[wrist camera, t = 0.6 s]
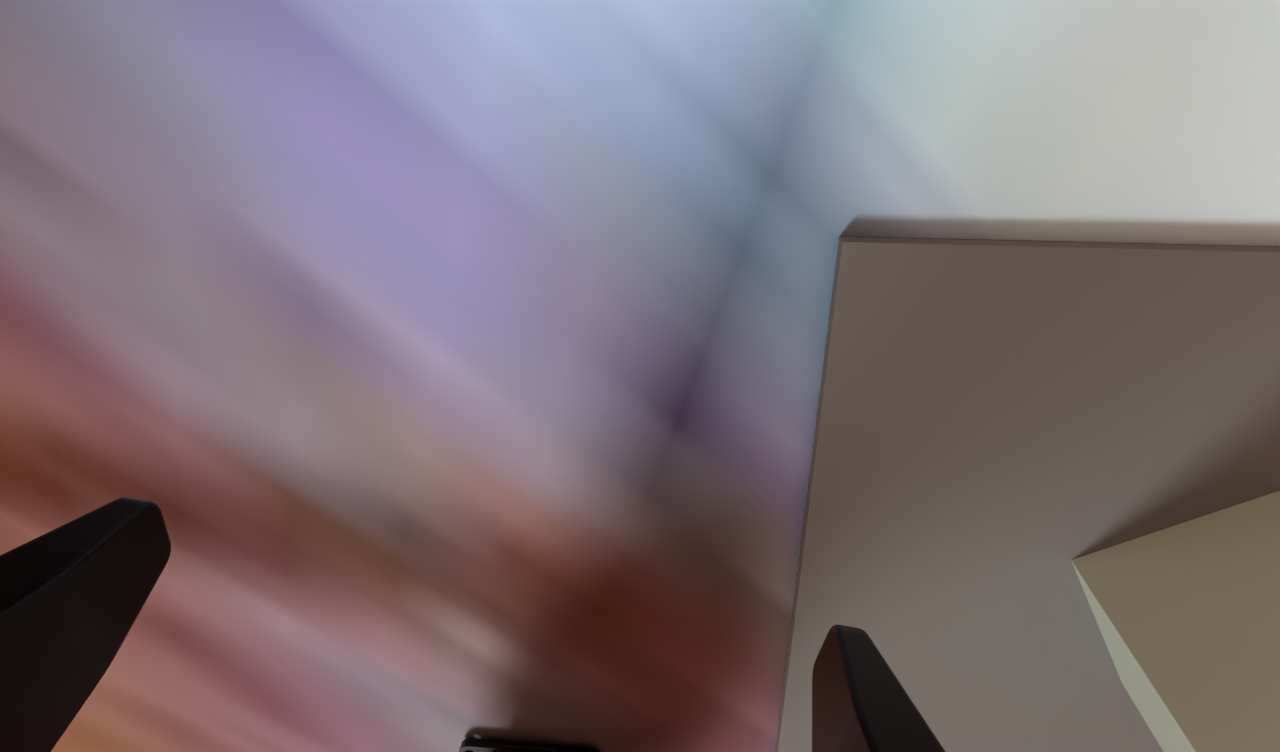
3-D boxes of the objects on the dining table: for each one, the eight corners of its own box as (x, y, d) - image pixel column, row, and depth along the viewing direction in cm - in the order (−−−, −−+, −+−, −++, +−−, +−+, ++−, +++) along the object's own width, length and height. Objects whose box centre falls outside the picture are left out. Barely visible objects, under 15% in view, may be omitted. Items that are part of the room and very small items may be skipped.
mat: (1245, 794, 32) (1254, 808, 31) (774, 760, 33) (775, 772, 33) (1557, 253, 21) (1579, 259, 21) (839, 236, 22) (842, 242, 22)
